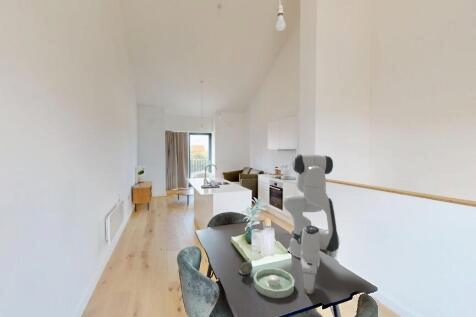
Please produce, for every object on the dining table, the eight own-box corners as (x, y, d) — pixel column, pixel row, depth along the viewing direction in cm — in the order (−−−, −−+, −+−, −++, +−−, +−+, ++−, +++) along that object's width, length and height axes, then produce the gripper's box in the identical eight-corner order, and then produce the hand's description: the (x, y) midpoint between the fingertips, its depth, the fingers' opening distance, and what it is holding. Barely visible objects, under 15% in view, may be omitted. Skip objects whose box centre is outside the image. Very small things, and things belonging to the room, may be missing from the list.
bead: (304, 287, 114) (304, 278, 114) (313, 289, 113) (314, 279, 112) (303, 293, 110) (304, 283, 110) (313, 295, 108) (313, 285, 108)
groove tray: (259, 271, 128) (259, 265, 128) (295, 278, 122) (296, 272, 122) (249, 292, 110) (249, 285, 109) (291, 302, 103) (292, 295, 103)
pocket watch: (243, 267, 132) (243, 250, 131) (255, 273, 127) (255, 255, 126) (234, 273, 126) (234, 255, 125) (246, 279, 120) (246, 261, 120)
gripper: (304, 250, 121) (303, 275, 122) (301, 269, 102) (300, 299, 103) (316, 252, 119) (315, 278, 120) (316, 272, 100) (315, 303, 101)
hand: (308, 288), depth 111 cm, fingers closed on bead, 4 cm apart
